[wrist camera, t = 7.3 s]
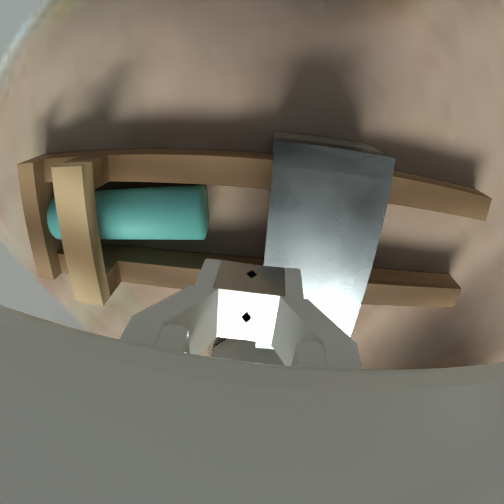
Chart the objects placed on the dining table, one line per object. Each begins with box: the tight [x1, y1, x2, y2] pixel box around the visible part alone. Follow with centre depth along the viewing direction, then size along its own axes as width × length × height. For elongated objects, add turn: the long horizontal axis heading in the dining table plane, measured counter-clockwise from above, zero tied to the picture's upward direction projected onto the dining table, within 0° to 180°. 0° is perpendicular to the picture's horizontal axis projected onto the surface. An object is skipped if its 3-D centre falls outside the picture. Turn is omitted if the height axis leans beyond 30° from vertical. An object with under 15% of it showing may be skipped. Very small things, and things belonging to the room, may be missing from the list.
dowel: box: [47, 185, 209, 240], centre depth 17 cm, size 10×3×3 cm, turn 91°
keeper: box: [255, 131, 396, 349], centre depth 16 cm, size 11×5×5 cm, turn 176°
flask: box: [212, 338, 284, 365], centre depth 19 cm, size 7×7×10 cm
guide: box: [17, 149, 492, 307], centre depth 16 cm, size 8×29×5 cm, turn 86°
